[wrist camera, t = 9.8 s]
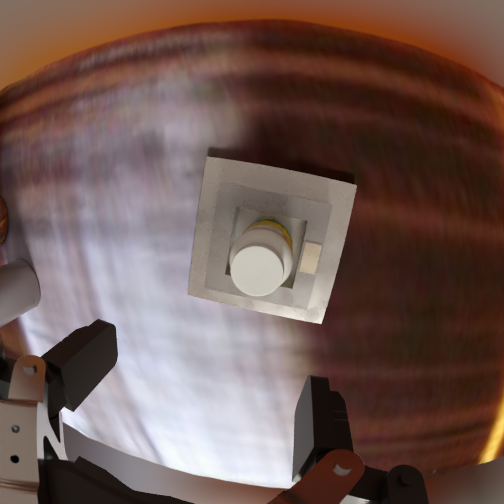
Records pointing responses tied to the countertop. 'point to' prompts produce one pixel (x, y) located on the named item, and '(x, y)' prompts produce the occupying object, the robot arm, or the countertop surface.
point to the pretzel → (3, 221)
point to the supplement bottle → (261, 258)
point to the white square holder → (281, 210)
